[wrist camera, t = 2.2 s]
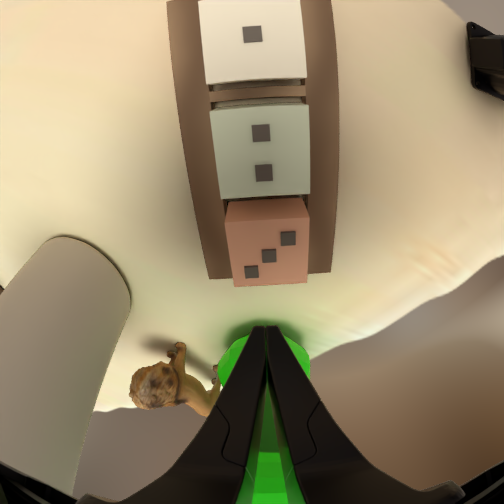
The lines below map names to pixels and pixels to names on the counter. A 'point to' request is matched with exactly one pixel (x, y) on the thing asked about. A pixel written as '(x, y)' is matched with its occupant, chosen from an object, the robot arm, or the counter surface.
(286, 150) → the tile two pips
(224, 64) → the tile one pip
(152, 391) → the lion figurine
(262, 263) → the tile three pips
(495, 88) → the robot arm
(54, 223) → the counter surface
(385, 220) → the counter surface
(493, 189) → the counter surface
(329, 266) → the walnut board
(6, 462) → the cylinder vase
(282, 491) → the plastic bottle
